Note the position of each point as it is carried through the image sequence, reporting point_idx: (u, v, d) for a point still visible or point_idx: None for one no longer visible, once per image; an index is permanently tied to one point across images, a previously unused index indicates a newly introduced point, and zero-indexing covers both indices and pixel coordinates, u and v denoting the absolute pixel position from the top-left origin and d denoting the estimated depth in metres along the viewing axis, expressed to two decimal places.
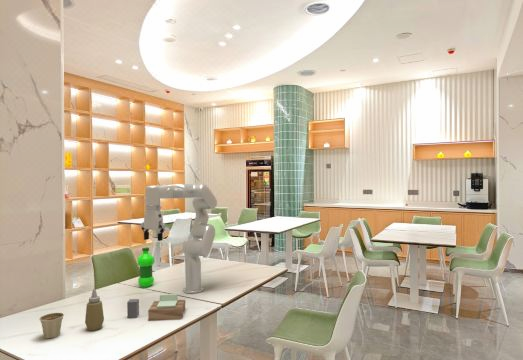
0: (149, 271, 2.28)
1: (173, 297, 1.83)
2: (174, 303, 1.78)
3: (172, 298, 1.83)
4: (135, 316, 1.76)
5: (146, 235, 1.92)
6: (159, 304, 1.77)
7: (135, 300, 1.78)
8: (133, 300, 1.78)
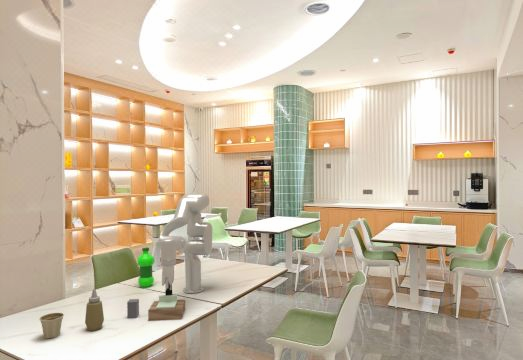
0: (149, 271, 2.28)
1: (172, 298, 1.81)
2: (174, 304, 1.77)
3: (171, 299, 1.81)
4: (135, 316, 1.76)
5: None
6: (158, 305, 1.76)
7: (135, 300, 1.78)
8: (133, 300, 1.78)
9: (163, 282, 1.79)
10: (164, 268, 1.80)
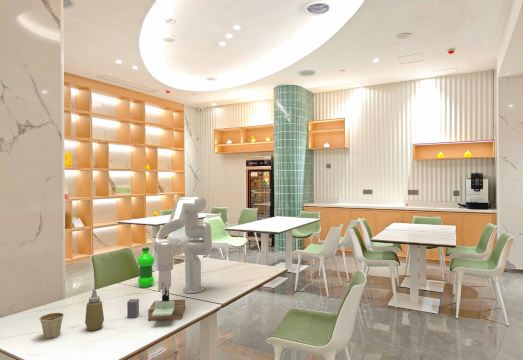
0: (149, 271, 2.28)
1: (169, 304, 1.72)
2: (170, 311, 1.68)
3: (168, 305, 1.72)
4: (135, 316, 1.76)
5: None
6: (154, 312, 1.66)
7: (135, 300, 1.78)
8: (133, 300, 1.78)
9: (159, 288, 1.70)
10: (160, 273, 1.70)
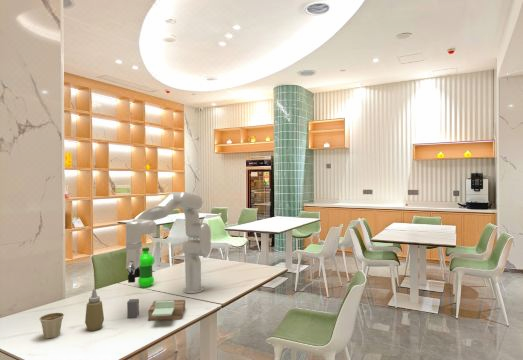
0: (149, 271, 2.28)
1: (169, 304, 1.72)
2: (170, 311, 1.68)
3: (168, 305, 1.72)
4: (135, 316, 1.76)
5: None
6: (154, 312, 1.66)
7: (135, 300, 1.78)
8: (133, 300, 1.78)
9: (127, 266, 1.73)
10: (128, 252, 1.73)
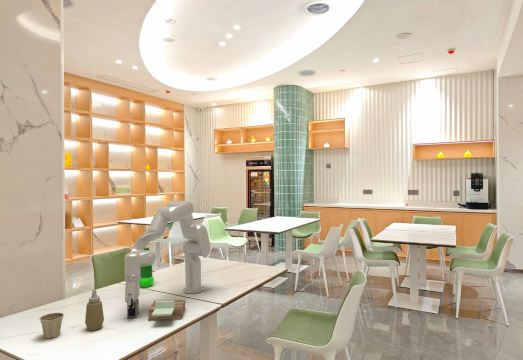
0: (149, 271, 2.28)
1: (169, 304, 1.72)
2: (170, 311, 1.68)
3: (168, 305, 1.72)
4: (135, 316, 1.76)
5: None
6: (154, 312, 1.66)
7: None
8: None
9: (126, 299, 1.73)
10: (127, 284, 1.73)
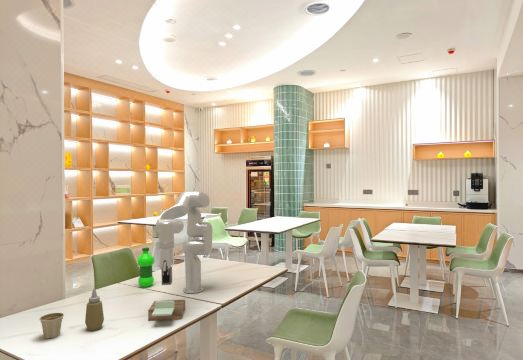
0: (149, 271, 2.28)
1: (169, 304, 1.72)
2: (170, 311, 1.68)
3: (168, 305, 1.72)
4: (169, 283, 1.77)
5: None
6: (154, 312, 1.66)
7: None
8: (167, 267, 1.80)
9: (161, 265, 1.74)
10: (162, 251, 1.75)
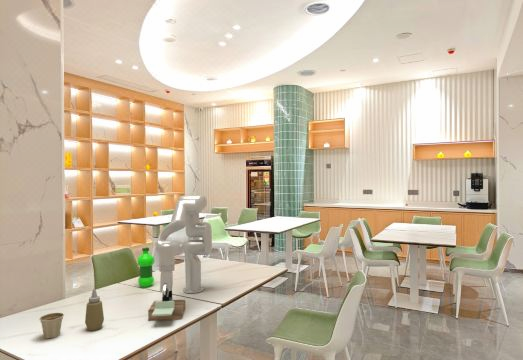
0: (149, 271, 2.28)
1: (169, 304, 1.72)
2: (170, 311, 1.68)
3: (168, 305, 1.72)
4: None
5: None
6: (154, 312, 1.66)
7: (169, 298, 1.79)
8: None
9: (161, 288, 1.74)
10: (162, 274, 1.75)
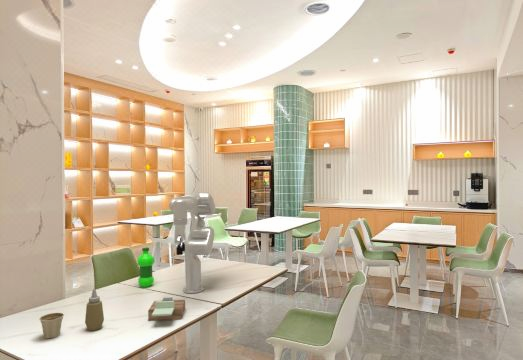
0: (149, 271, 2.28)
1: (169, 304, 1.72)
2: (170, 311, 1.68)
3: (168, 305, 1.72)
4: None
5: None
6: (154, 312, 1.66)
7: (169, 298, 1.79)
8: (167, 298, 1.79)
9: (176, 240, 1.90)
10: (176, 227, 1.90)
